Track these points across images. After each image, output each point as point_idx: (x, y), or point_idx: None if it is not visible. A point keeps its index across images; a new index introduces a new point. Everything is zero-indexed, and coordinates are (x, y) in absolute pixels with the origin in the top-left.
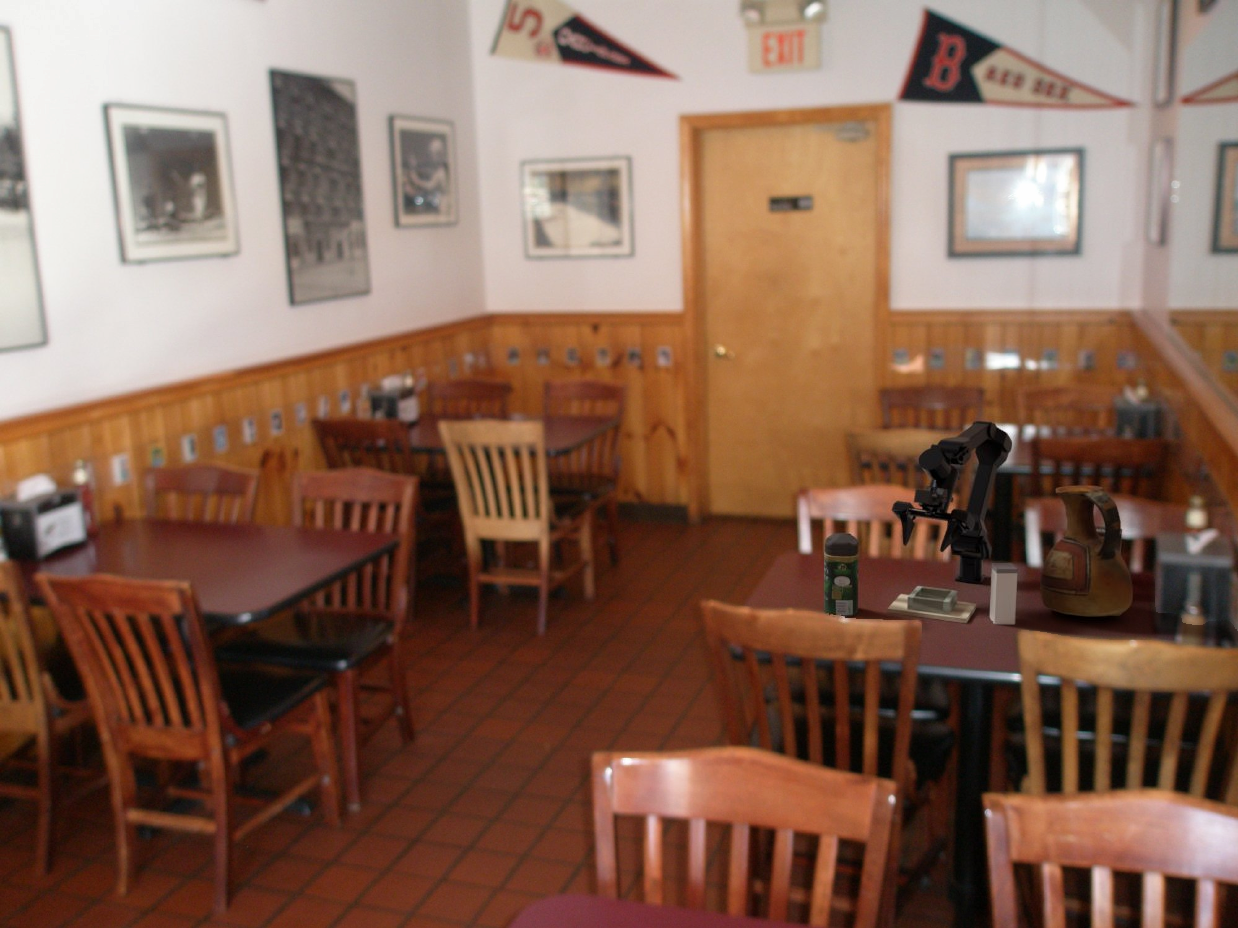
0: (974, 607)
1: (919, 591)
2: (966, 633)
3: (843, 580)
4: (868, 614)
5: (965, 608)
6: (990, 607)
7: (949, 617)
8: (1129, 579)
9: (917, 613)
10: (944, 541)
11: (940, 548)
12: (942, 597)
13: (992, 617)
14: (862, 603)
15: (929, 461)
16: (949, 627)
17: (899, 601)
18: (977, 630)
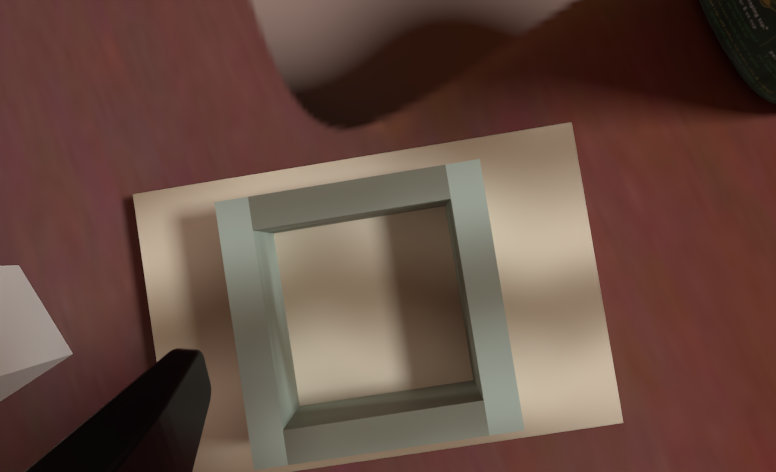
0: None
1: (473, 343)
2: (90, 52)
3: None
4: (638, 43)
5: None
6: (26, 357)
7: (223, 180)
8: None
9: (398, 151)
10: (71, 454)
11: (183, 360)
12: (344, 406)
13: (28, 306)
14: (755, 199)
15: None
16: (193, 89)
17: (567, 279)
18: (60, 125)
